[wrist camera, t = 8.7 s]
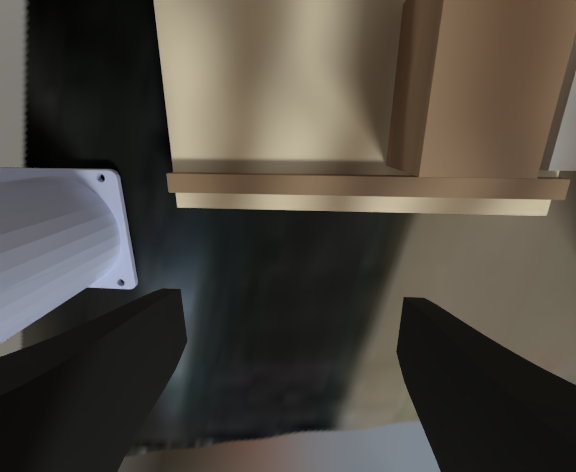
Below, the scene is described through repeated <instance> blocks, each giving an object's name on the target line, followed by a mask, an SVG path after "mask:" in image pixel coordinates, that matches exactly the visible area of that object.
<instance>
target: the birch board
mask: <svg viewBox="0 0 576 472" xmlns="http://www.w3.org/2000/svg"><path fill="white" fill-rule="evenodd" d="M405 1H406V0H154V9H155V18H156V26H157V35H158V44H159V52H160V61H161V70H162V78H163V87H164V96H165V104H166V113H167V122H168V130H169V139H170V148H171V157H172V165H173V172H171V173H167V182H168V190H169V193H176V200H177V207H180V208H224V209H267V210H311V211H355V212H399V213H442V214H486V215H530V216H547V213H548V209H549V206H550V202H551V200H565V197H566V194H567V190H568V187H569V184H570V181H571V179H565V178H559V177H558V174H559V171H576V34H575V37H574V41H573V45H572V49H571V53H570V56H569V60H568V64H567V68H566V71H565V75H564V79H563V83H562V86H561V90H560V94H559V98H558V101H557V105H556V109H555V113H554V116H553V120H552V124H551V128H550V132H549V135H548V139H547V143H546V147H545V150H544V154H543V158H542V162H541V165H540V169H539V173H538V177H537V179H525V178H453V177H417V176H414V175H412V174H409V173H406V172H403V171H400V170H398V169H395V168H392V167H389V166H386V161H387V151H388V142H389V133H390V123H391V114H392V104H393V95H394V85H395V76H396V66H397V57H398V47H399V38H400V29H401V19H402V10H403V4H404V2H405Z"/></svg>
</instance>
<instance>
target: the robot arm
mask: <svg viewBox="0 0 576 472" xmlns="http://www.w3.org/2000/svg"><path fill="white" fill-rule="evenodd" d="M101 174H103V175H104V177H105V180H104V181H103V180H102V178H101ZM121 279H122V280H123V281H124V283H122V282H121ZM137 284H138V279H137V273H136V267H135V262H134V256H133V250H132V244H131V238H130V232H129V227H128V221H127V215H126V209H125V203H124V198H123V192H122V186H121V180H120V176H119V174H118V172H117V171H115V170H113V169H76V168H0V344H1V343H2V342H4V341H5V340H7V339H8V338H10V337H11V336H13V335H14V334H16V333H18V332H19V331H21V330H22V329H24V328H25V327H27V326H28V325H30V324H31V323H33V322H34V321H36V320H38V319H39V318H41V317H42V316H44V315H45V314H47V313H48V312H50V311H51V310H53V309H54V308H56V307H57V306H59V305H60V304H62V303H64V302H65V301H67V300H68V299H70V298H71V297H73V296H74V295H76V294H77V293H79V292H80V291H82V290H83V289H85V288H86V287H91V288H113V289H133V288H134V287H135V286H137ZM186 343H187V335H186V328H185V320H184V312H183V305H182V297H181V289H160V290H157V291H154V292H152V293H149V294H147V295H145V296H143V297H141V298H138V299H136V300H134V301H132V302H130V303H128V304H126V305H124V306H121V307H119V308H117V309H115V310H113V311H111V312H109V313H107V314H105V315H103V316H100V317H98V318H96V319H94V320H91V321H89V322H87V323H85V324H82V325H80V326H78V327H76V328H73V329H71V330H69V331H67V332H64V333H62V334H60V335H57V336H55V337H52V338H50V339H47V340H45V341H42V342H40V343H37V344H35V345H32V346H29V347H26V348H24V349H21V350H18V351H16V352H13V353H10V354H7V355H5V356H1V357H0V472H117V471H118V469H119V467H120V465H121V463H122V461H123V459H124V457H125V455H126V453H127V451H128V450H129V448H130V446H131V444H132V442H133V440H134V439H135V437H136V435H137V434H138V432H139V430H140V429H141V427H142V425H143V424H144V422H145V420H146V418H147V417H148V415H149V413H150V412H151V410H152V408H153V407H154V405H155V403H156V402H157V400H158V398H159V397H160V395H161V393H162V392H163V390H164V388H165V387H166V385H167V383H168V381H169V380H170V378H171V376H172V374H173V373H174V371H175V369H176V367H177V365H178V362H179V360H180V358H181V356H182V353H183V351H184V348H185V346H186ZM396 352H397V356H398V360H399V364H400V368H401V371H402V375H403V378H404V382H405V385H406V387H407V390H408V392H409V395H410V397H411V400H412V402H413V405H414V407H415V409H416V412H417V414H418V417H419V419H420V422H421V424H422V426H423V429H424V431H425V434H426V436H427V438H428V441H429V443H430V446H431V448H432V450H433V453H434V455H435V458H436V460H437V463H438V466H439V468H440V471H441V472H576V385H574V384H572V383H570V382H568V381H566V380H564V379H562V378H560V377H558V376H556V375H554V374H552V373H550V372H548V371H546V370H544V369H543V368H541V367H539V366H537V365H535V364H533V363H531V362H530V361H528V360H526V359H524V358H522V357H521V356H519V355H517V354H515V353H514V352H512V351H510V350H508V349H507V348H505V347H503V346H501V345H500V344H498V343H496V342H495V341H493V340H492V339H490V338H488V337H487V336H485V335H483V334H482V333H480V332H478V331H477V330H475V329H474V328H472V327H471V326H469V325H467V324H466V323H464V322H463V321H461V320H460V319H458V318H457V317H455V316H453V315H452V314H450V313H449V312H447V311H446V310H444V309H442V308H441V307H439V306H438V305H436V304H434V303H433V302H431V301H429V300H427V299H425V298H413V297H404V300H403V307H402V315H401V322H400V329H399V337H398V344H397V351H396Z"/></svg>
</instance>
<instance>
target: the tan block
mask: <svg viewBox="0 0 576 472" xmlns="http://www.w3.org/2000/svg"><path fill="white" fill-rule="evenodd" d="M575 34H576V0H406V1H405V2H404V4H403V10H402V19H401V29H400V38H399V47H398V57H397V66H396V76H395V85H394V95H393V104H392V114H391V123H390V133H389V142H388V151H387V161H386V166H389V167H392V168H395V169H398V170H400V171H403V172H406V173H409V174H412V175H414V176H417V177H453V178H525V179H537V177H538V173H539V169H540V165H541V162H542V158H543V154H544V150H545V147H546V143H547V139H548V135H549V132H550V128H551V124H552V120H553V116H554V113H555V109H556V105H557V101H558V98H559V94H560V90H561V86H562V83H563V79H564V75H565V71H566V68H567V64H568V60H569V56H570V53H571V49H572V45H573V41H574V37H575Z"/></svg>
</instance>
